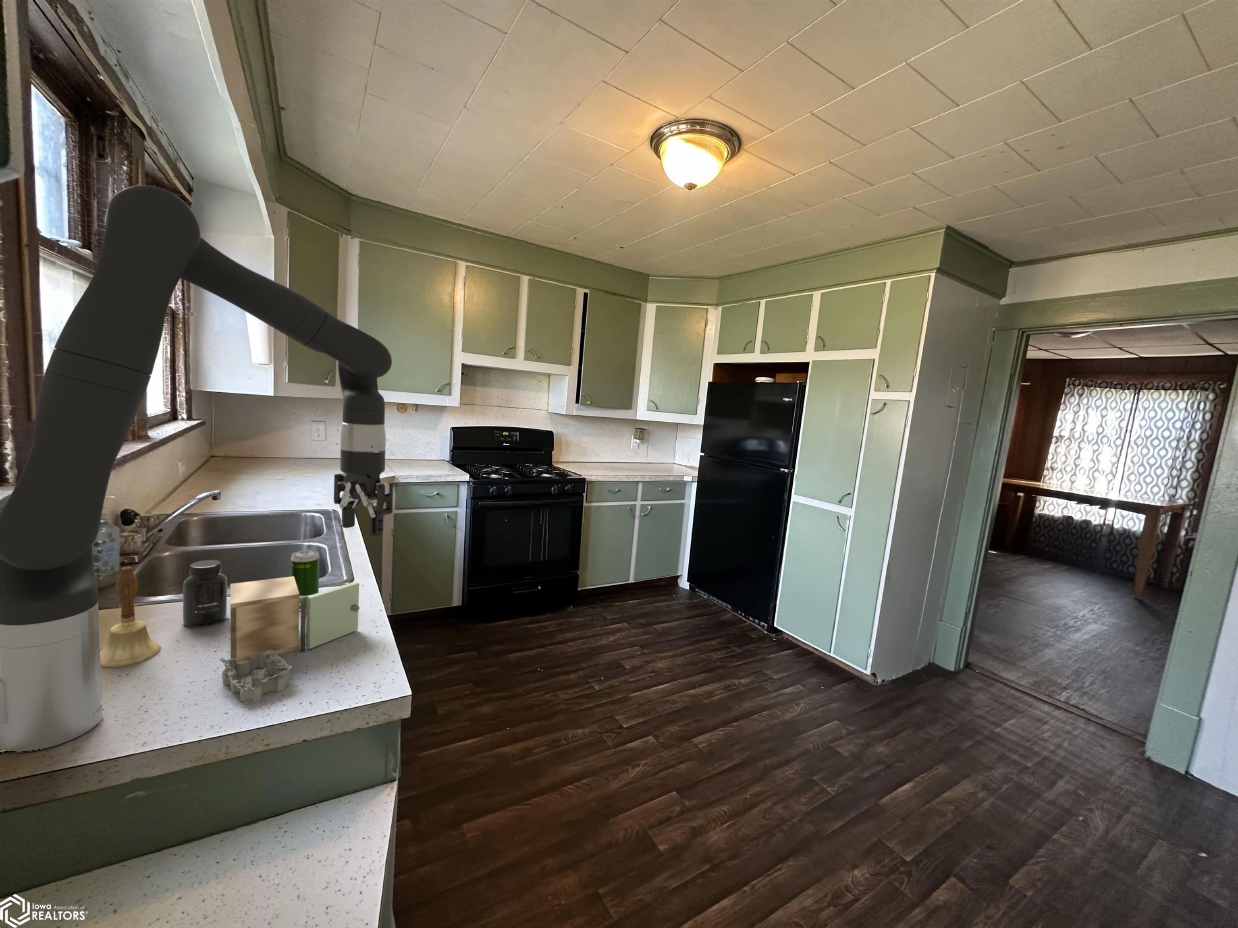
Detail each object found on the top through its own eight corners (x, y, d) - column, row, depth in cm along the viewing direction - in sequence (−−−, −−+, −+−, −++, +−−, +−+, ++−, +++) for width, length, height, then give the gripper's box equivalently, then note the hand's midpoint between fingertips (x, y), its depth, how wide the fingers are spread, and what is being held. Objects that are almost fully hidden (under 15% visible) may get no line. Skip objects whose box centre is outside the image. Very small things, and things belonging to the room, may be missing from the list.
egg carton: (217, 680, 82) (217, 657, 81) (270, 663, 88) (270, 642, 87) (240, 707, 76) (240, 682, 75) (295, 687, 82) (295, 664, 81)
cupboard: (230, 666, 85) (230, 605, 84) (230, 639, 94) (230, 583, 93) (305, 651, 92) (306, 595, 91) (299, 627, 101) (299, 575, 99)
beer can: (320, 607, 110) (321, 555, 109) (291, 612, 107) (292, 558, 105) (316, 598, 114) (317, 548, 113) (288, 603, 111) (289, 551, 109)
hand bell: (173, 648, 89) (171, 563, 87) (119, 671, 81) (116, 578, 79) (136, 640, 91) (134, 556, 89) (80, 662, 83) (76, 571, 81)
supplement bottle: (203, 630, 96) (202, 571, 95) (173, 625, 97) (172, 566, 96) (235, 616, 103) (235, 560, 101) (207, 611, 104) (207, 556, 102)
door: (305, 646, 93) (306, 596, 92) (354, 627, 102) (355, 581, 101) (312, 650, 92) (313, 599, 91) (361, 630, 101) (362, 584, 100)
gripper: (320, 443, 93) (319, 528, 95) (370, 453, 86) (368, 543, 88) (357, 442, 99) (356, 521, 101) (406, 450, 93) (404, 534, 95)
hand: (362, 531), depth 95 cm, fingers open, 7 cm apart
